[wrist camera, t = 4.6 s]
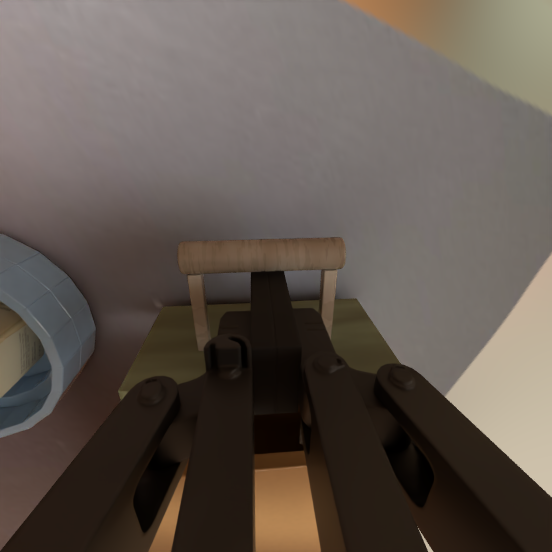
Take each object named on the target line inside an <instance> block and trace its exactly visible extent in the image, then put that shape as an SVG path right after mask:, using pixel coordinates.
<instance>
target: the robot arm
mask: <svg viewBox="0 0 552 552" xmlns="http://www.w3.org/2000/svg"><path fill="white" fill-rule="evenodd" d="M204 357H205V366H206V372H205V373H204V374H203V375H201V376H200V377H198V378H196V379H193V380H191V381H188V382H184V383H181V384H178V385H177V383H176V382H175V381H174V380H173V379H172V378H170V377H167V376H154V377H150V378H147V379H144V380H143V381H141V382H139V383H137V384H136V385H135V386H134V387H133V388H131V389H130V390H129V391H128V393H127V394H126V395H125V396H124V398H123V399H122V400H121V401H120V403H119V404H118V405H117V406H116V408H115V409H114V410H113V411H112V413H111V414H110V415H109V416H108V418H107V419H106V420H105V421H104V423H103V424H102V425H101V426H100V428H99V429H98V430H97V431H96V433H95V434H94V435H93V436H92V438H91V439H90V440H89V441H88V443H87V444H86V445H85V446H84V448H83V449H82V450H81V451H80V453H79V454H78V455H77V456H76V458H75V459H74V460H73V461H72V463H71V464H70V465H69V466H68V467H67V469H66V470H65V471H64V472H63V474H62V475H61V476H60V477H59V479H58V480H57V481H56V482H55V484H54V485H53V486H52V487H51V489H50V490H49V491H48V492H47V494H46V495H45V496H44V497H43V499H42V500H41V501H40V502H39V504H38V505H37V506H36V507H35V509H34V510H33V511H32V512H31V514H30V515H29V516H28V517H27V519H26V520H25V521H24V522H23V524H22V525H21V526H20V527H19V529H18V530H17V531H16V532H15V534H14V535H13V536H12V537H11V539H10V540H9V541H8V542H7V544H6V545H5V546H4V547H3V548H2V550H1V551H0V552H149V549H150V547H151V545H152V542H153V540H154V538H155V536H156V533H157V531H158V529H159V526H160V524H161V522H162V520H163V517H164V515H165V513H166V511H167V508H168V506H169V504H170V501H171V499H172V497H173V495H174V492H175V490H176V488H177V485H178V483H179V481H180V479H181V476H182V474H183V472H184V469H185V467H186V465H187V463H188V467H187V473H186V478H185V483H184V488H183V493H182V498H181V503H180V508H179V513H178V519H177V524H176V529H175V534H174V539H173V544H172V549H171V552H256V537H255V450H254V415H265V414H282V413H298V409H299V407H300V413H301V424H300V440H299V444H303V447H304V453H305V459H306V465H307V471H308V477H309V483H310V489H311V495H312V501H313V507H314V513H315V519H316V525H317V531H318V537H319V543H320V549H321V552H428V551H427V548H426V546H425V543H424V541H423V539H422V536H421V534H420V532H419V530H420V531H421V533H422V534H423V536H424V538H425V539H426V540H427V542H428V544H429V545H430V547H431V549H432V550H433V552H552V497H550V495H548V494H547V493H546V492H545V491H544V490H543V489H542V488H541V487H540V486H539V485H538V484H537V483H536V482H535V481H533V480H532V479H531V478H530V477H529V476H528V475H527V474H526V473H525V472H524V471H523V470H522V469H521V468H520V467H518V466H517V464H515V463H514V462H513V461H512V460H511V459H510V458H509V457H508V456H507V455H506V454H505V453H504V452H503V451H502V450H501V449H499V448H498V447H497V446H496V445H495V444H494V443H493V442H492V441H491V440H490V439H489V438H488V437H487V436H486V435H485V434H483V433H482V432H481V431H480V430H479V429H478V428H477V427H476V426H475V425H474V424H473V423H472V422H471V421H470V420H469V419H468V418H466V417H465V416H464V415H463V414H462V413H461V412H460V411H459V410H458V409H457V408H456V407H455V406H454V405H453V404H452V403H450V402H449V401H448V400H447V399H446V398H445V397H444V396H443V395H442V394H441V393H440V392H439V391H438V390H437V389H436V388H435V387H433V386H432V385H431V384H430V383H429V382H428V381H427V380H426V379H425V378H424V377H423V376H422V375H421V374H419V373H418V372H417V371H415V370H414V369H412V368H410V367H407V366H405V365H402V364H396V363H391V364H385V365H383V366H381V367H380V368H379V369H378V371H377V374H374V373H369V372H364V371H359V370H356V369H353V368H351V367H349V366H348V364H347V363H346V361H345V360H344V359H343V358H342V357H340V356H339V355H338V354H336V352H335V350H334V347H333V345H332V342H331V340H330V337H329V335H328V332H327V330H326V327H325V325H324V322H323V320H322V317H321V315H320V313H318V312H317V311H316V310H315V309H314V308H292V304H291V300H290V295H289V291H288V287H287V283H286V279H285V275H284V271H266V272H251V311H227V312H226V313H225V314H224V315H223V316H222V317H221V318H220V323H219V329H218V335H217V336H216V337H214V338H212V339H211V340H209V341H208V342H207V343H206V345H205V347H204ZM188 459H189V462H188ZM418 528H419V530H418Z"/></svg>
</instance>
